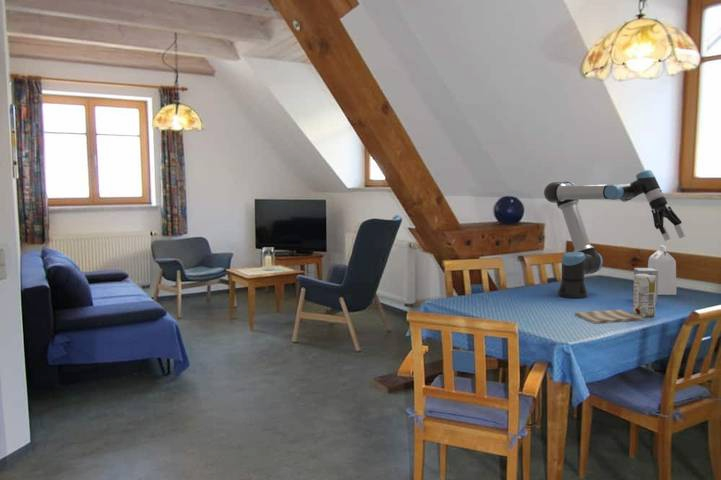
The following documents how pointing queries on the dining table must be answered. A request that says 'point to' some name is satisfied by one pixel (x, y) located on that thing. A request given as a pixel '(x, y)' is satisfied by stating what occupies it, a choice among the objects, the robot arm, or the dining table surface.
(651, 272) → the supplement box
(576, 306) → the dining table surface
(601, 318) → the wooden board
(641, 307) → the juice carton
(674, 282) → the milk
